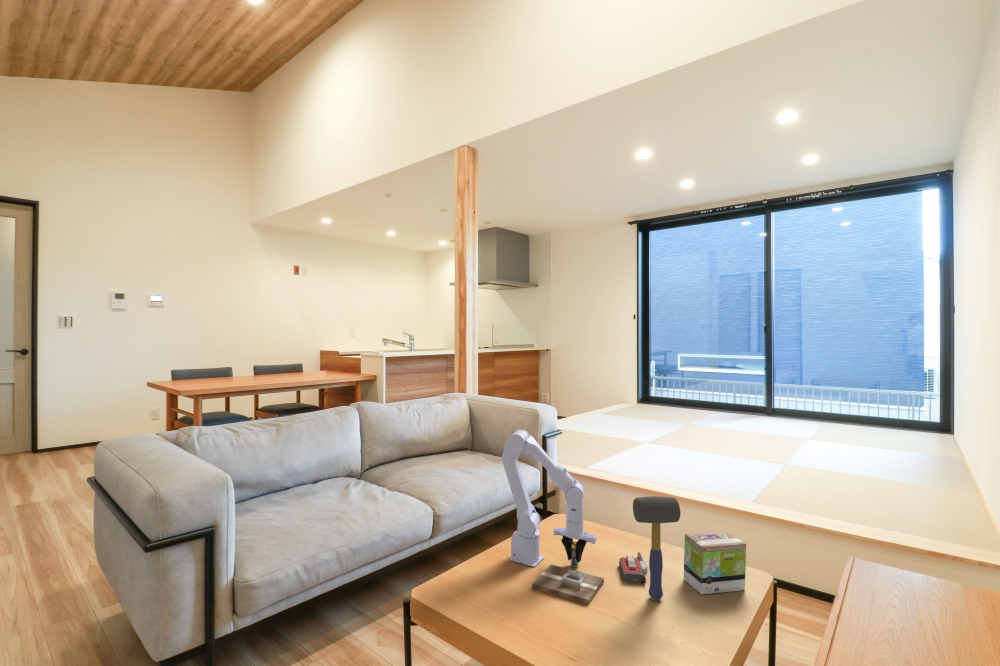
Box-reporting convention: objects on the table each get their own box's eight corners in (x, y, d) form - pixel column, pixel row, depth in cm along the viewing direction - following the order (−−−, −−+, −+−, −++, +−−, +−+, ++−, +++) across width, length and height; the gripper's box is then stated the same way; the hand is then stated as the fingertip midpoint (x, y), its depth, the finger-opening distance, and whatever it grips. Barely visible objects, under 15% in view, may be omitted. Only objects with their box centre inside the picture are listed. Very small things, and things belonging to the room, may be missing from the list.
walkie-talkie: (652, 587, 150) (641, 557, 170) (652, 572, 150) (642, 544, 170) (623, 585, 151) (616, 555, 171) (623, 571, 151) (616, 543, 171)
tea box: (702, 596, 144) (702, 546, 144) (682, 579, 154) (683, 533, 154) (746, 591, 148) (746, 542, 147) (724, 574, 157) (725, 529, 157)
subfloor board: (532, 588, 149) (532, 583, 149) (550, 568, 161) (550, 564, 161) (588, 605, 140) (588, 599, 140) (603, 583, 152) (603, 577, 152)
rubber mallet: (672, 591, 147) (672, 492, 147) (681, 605, 140) (682, 501, 139) (631, 592, 147) (631, 492, 147) (638, 606, 139) (639, 501, 139)
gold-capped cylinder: (569, 566, 163) (569, 543, 163) (572, 562, 165) (572, 540, 165) (576, 568, 161) (576, 545, 161) (579, 564, 164) (579, 542, 164)
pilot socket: (561, 584, 148) (561, 577, 148) (569, 575, 153) (569, 569, 153) (580, 589, 145) (580, 583, 145) (587, 580, 150) (587, 574, 150)
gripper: (599, 519, 163) (599, 560, 163) (559, 511, 170) (559, 550, 170) (592, 527, 157) (592, 569, 157) (551, 518, 164) (550, 558, 164)
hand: (574, 560), depth 163 cm, fingers closed on gold-capped cylinder, 3 cm apart
